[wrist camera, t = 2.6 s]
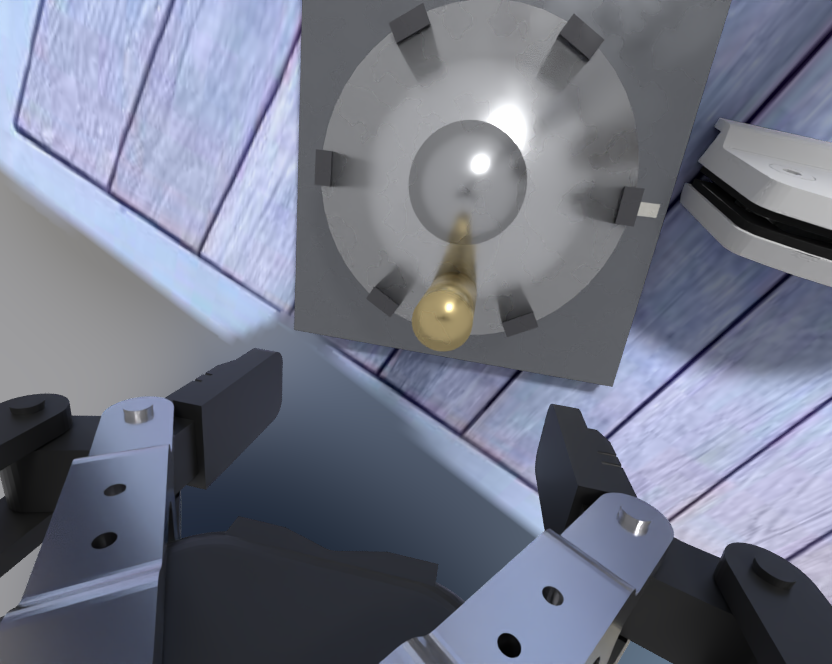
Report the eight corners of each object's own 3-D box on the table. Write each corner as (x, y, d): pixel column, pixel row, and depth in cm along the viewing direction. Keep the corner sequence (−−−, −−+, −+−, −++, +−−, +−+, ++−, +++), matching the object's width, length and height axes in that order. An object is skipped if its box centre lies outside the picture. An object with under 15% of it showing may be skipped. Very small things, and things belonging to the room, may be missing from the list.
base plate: (724, -13, 23) (740, -28, 21) (606, 378, 31) (612, 387, 29) (313, -38, 26) (302, -52, 24) (302, 324, 34) (293, 330, 32)
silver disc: (342, 10, 25) (265, -85, 16) (668, 35, 22) (774, -62, 14) (327, 299, 31) (265, 337, 22) (584, 342, 28) (624, 403, 20)
